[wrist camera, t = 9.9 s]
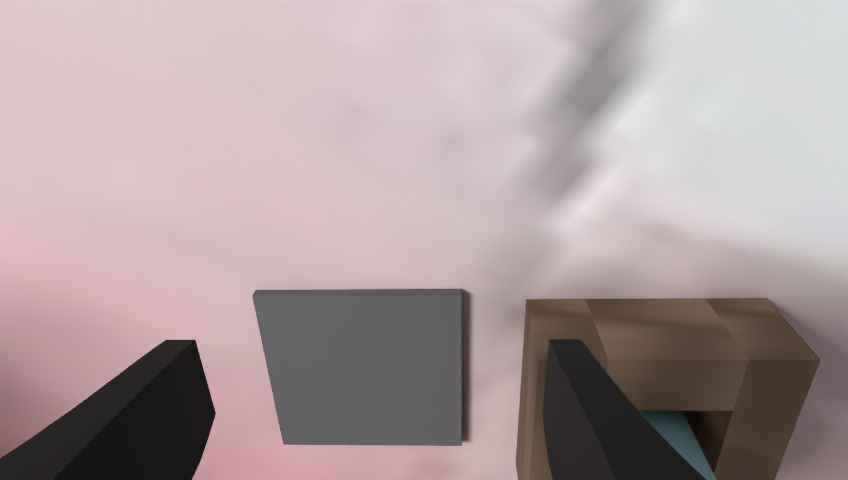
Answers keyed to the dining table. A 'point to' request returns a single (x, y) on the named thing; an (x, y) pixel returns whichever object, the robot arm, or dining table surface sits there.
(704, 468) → the peg
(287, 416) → the mat
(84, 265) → the dining table surface
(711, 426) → the hole block
